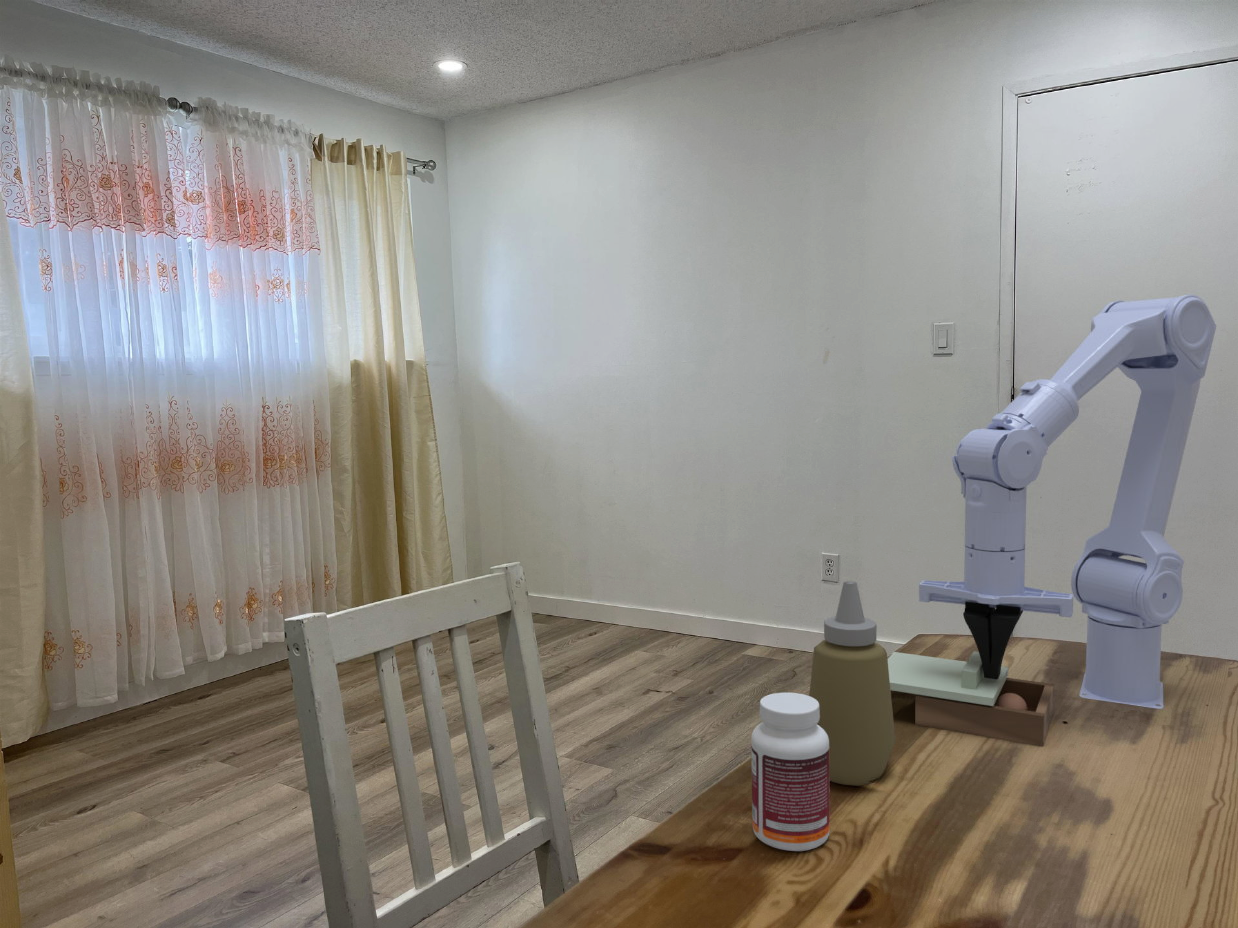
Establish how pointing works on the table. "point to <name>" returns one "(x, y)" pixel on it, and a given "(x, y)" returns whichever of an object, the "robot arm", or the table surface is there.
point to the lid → (944, 678)
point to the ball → (1011, 701)
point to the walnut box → (993, 714)
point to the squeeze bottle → (853, 693)
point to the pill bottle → (790, 774)
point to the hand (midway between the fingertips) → (992, 675)
